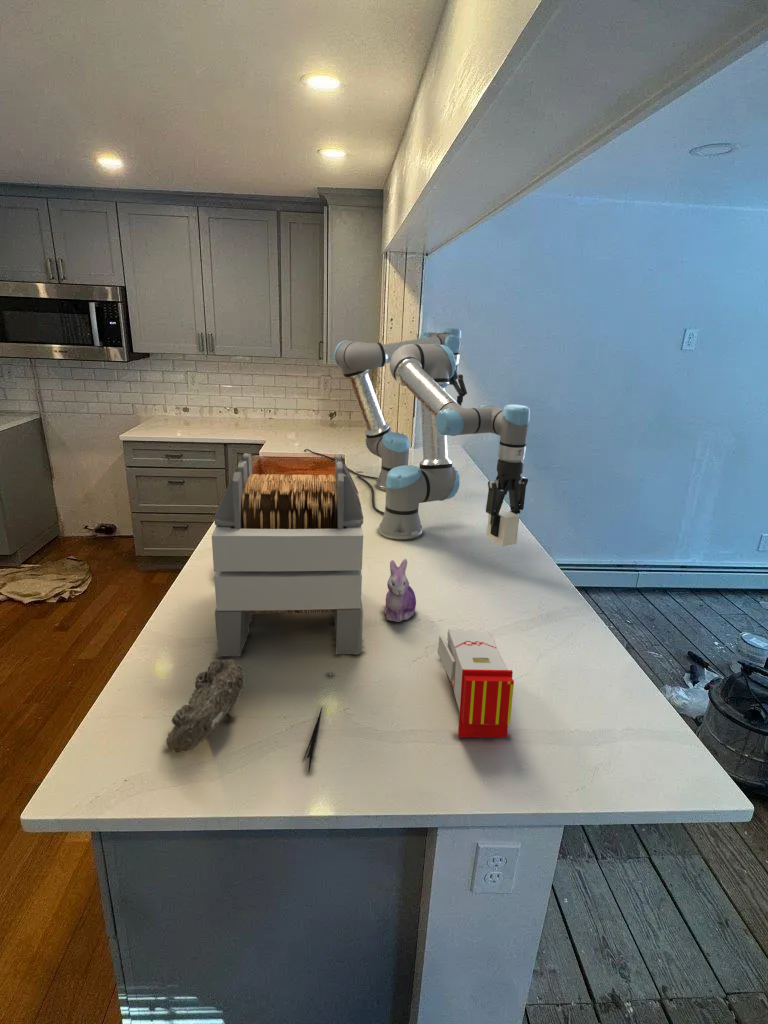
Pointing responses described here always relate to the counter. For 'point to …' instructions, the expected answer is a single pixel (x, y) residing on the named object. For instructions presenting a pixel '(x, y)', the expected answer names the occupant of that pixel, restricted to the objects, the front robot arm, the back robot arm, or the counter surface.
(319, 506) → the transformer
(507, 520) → the block
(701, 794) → the counter surface
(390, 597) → the figurine
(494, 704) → the toy
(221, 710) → the fossil
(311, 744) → the dark thin pointed pieces
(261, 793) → the counter surface
